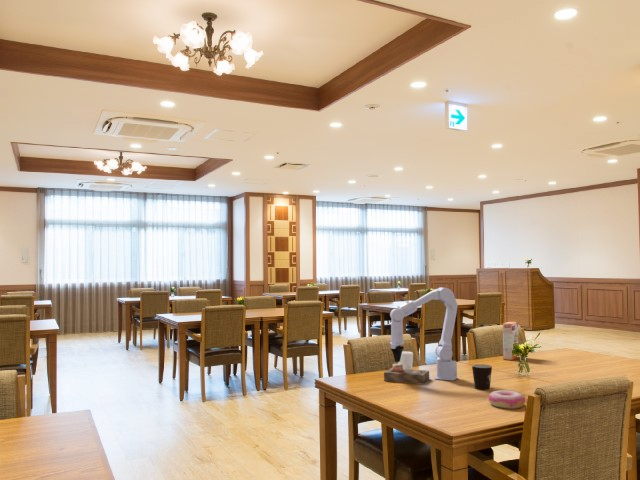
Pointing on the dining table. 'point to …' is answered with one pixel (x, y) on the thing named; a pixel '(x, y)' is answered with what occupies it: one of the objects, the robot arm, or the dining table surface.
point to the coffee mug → (482, 376)
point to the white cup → (406, 359)
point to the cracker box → (509, 339)
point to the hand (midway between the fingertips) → (397, 361)
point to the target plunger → (397, 367)
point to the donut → (506, 399)
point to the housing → (407, 376)
